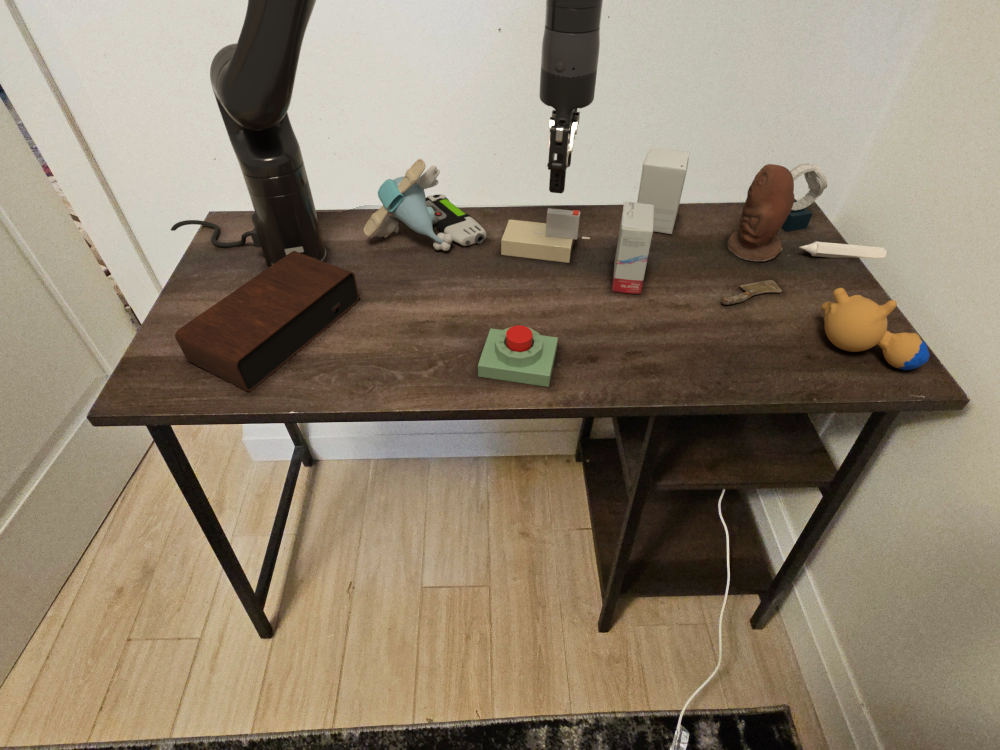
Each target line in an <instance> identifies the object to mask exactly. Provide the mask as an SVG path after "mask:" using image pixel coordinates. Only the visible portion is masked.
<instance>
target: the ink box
mask: <svg viewBox="0 0 1000 750" xmlns="http://www.w3.org/2000/svg"><path fill="white" fill-rule="evenodd" d="M653 223H654V205H653V204H642V203H637V202H635V201H634V202H633V201H624V202H623V207H622V213H621V219H620V225H619V232H618V238H617V244H616V250H615V256H614V257H615V258H614V264H613V275H612V283H611V285H612V286H611V292H614V293H621V294H622V293H624V294H632V295H641V294H642V290H643V284H644V280H645V275H646V269H647V263H648V261H649V260H648V259H649V255H650V248H651V243H652V239H653V234H654V231H653Z"/></svg>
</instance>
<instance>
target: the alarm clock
mask: <svg viewBox="0 0 1000 750" xmlns="http://www.w3.org/2000/svg"><path fill="white" fill-rule="evenodd" d="M359 300H360V293H359V289H358V285H357V280H356V275H355V273H354V272H352V271H350V270H347V269H345V268H341V267H339V266H336V265H334V264H331V263H328V262H327V261H325V262H323V261H320V260H318V259H315V258H312V257H310V256H307V255H304V254H302V253H299V252H296V251H292V252H291V253H289V254H288V255H286V256H285V257H283V258H282V259H280V260H279V261H278V262H276V263H275V264H273V265H272V266H268V267H267V268H266V269H265V270H263V271H262V272H260V273H258V274H257V275H256V276H254V277H252V278H251V279H250V280H248V281H246V282H245V283H244V284H243V285H240V286H239V287H238V288H236V289H235V290H233V291H232V292H231V293H229V294H227V295H226V296H225V297H223V298H222V299H220V300H219V301H218V302H216V303H215V304H213V305H211V306H210V307H209V308H207V309H206V310H204V311H203V312H202V313H200V314H199V315H197V316H196V317H194V318H193V319H191V320H190V321H188V322H187V323H185V324H184V325H182V326H181V327H180V328H178V329H177V330H176V331H175V333H174V337H175V340H176V342H177V344H178V346H179V348H180V350H181V351H182V353H183V356H184V357H185V359H186V361H187V362H189V363H191V364H193V365H194V366H197V367H199V368H201V369H202V370H205V371H207V372H209V373H211V374H213V375H214V376H216V377H219V378H221V379H223V380H224V381H227V382H229V383H231V384H233V385H235V386H237V387H238V388H240V389H242V390H245V391H246V392H252V391H254V390H255V389H256V388H258V387H260V385H262V383H264V382H265V381H266V380H267V379H268V378H270V377H271V376H272V375H273V374H274V373H276V372H277V371H278V370H279V369H280V368H281V367H283V366H284V365H285V364H287V363H288V362H289V361H290V360H291V359H292V358H294V357H295V356H296V355H297V354H298V353H300V352H301V351H302V350H303V349H305V347H306V346H308V345H309V344H310V343H311V342H312V341H314V340H315V339H316V338H317V337H319V336H320V335H321V334H322V333H323V332H324V331H326V330H327V329H328V328H329V327H330V326H331V325H333V324H334V323H336V321H338V320H339V319H340V318H341V317H342V316H344V315H345V314H346V313H347V312H348V311H350V310H351V309H352V308H353V307H354V306H355V305H357V304H358V303H359Z"/></svg>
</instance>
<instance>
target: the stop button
mask: <svg viewBox="0 0 1000 750" xmlns="http://www.w3.org/2000/svg"><path fill="white" fill-rule="evenodd" d="M528 327H529V326H525V325H513V326H511V328H510V327H508V328H509V329H508V330H507V332H506V345H507V347H508V348H509V349H510V350H512V351H515V352H523V351H527V350H528V349H530V347H531V346H532V331H531V330H530V329H529V328H530V327H529V328H528Z"/></svg>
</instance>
